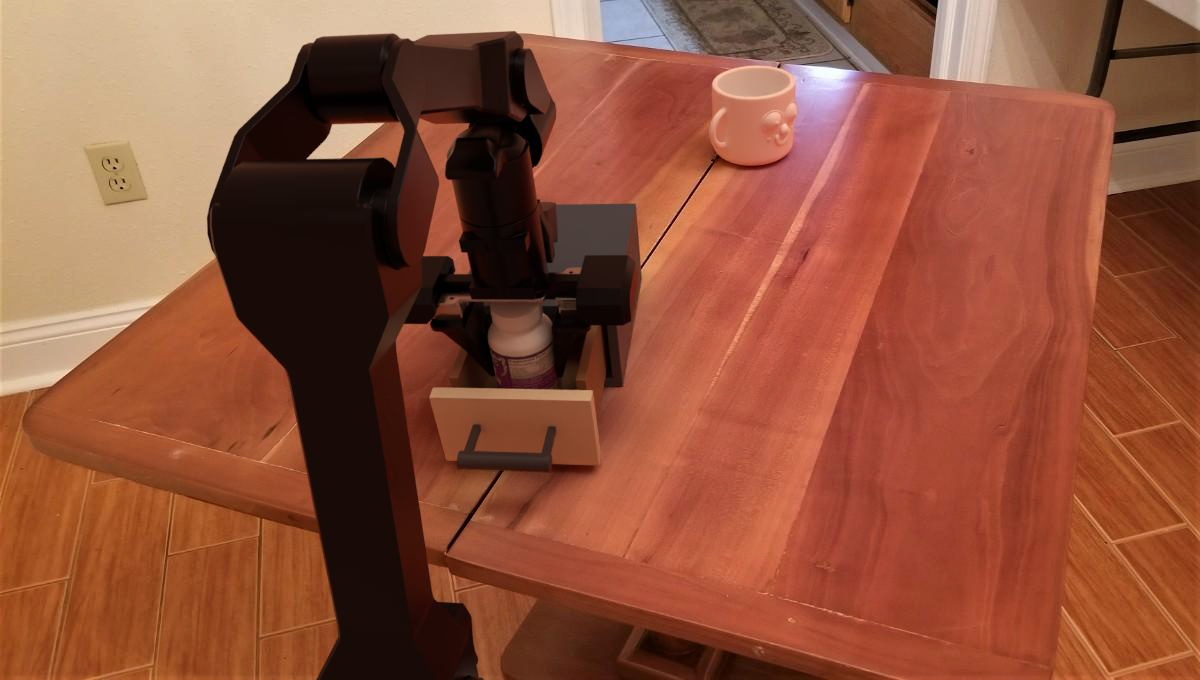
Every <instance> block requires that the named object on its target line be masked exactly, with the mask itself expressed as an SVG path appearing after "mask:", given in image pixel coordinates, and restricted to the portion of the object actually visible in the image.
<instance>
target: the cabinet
mask: <svg viewBox="0 0 1200 680" xmlns="http://www.w3.org/2000/svg"><path fill="white" fill-rule="evenodd" d="M556 213H557V231H558V241H557V242H554V249H555V257H554V260H553V263H547V268H548V272H562V271H563V270H565V269H567V268H572V267H582V265H583V261H584V257H585V255H629V256H630V258H631V259H632V260H633V261H634V262H635V263H636V264H637V272H638V287H637V292H636V298H635V304H634V309H633V315H632V320H631V322H629V323H627V324H625V325H623V326H611V325H606V326H607V335H608V344H609V353H610V357H609V362H608V367H607V372H606V377H605V382H604V387H624V384H625V383H624V382H625V376H626V371H627V365H628V361H629V355H630V349H631V344H632V343H631V342H632V336H633V332H634V326H635V321H636V314H637V309H638V304H639V303H638V302H639V297H640V291H641V285H642V279H643V276H642V265H641V264H642V263H641V251H640V237H639V226H638V225H639V224H638V214H637V203H576V204H575V203H571V204H570V203H567V204H560V203H559V204H556ZM467 274H471V269H470V268H469V271H468V273H467ZM491 303H492V302H484V311H485V314H491V310H490V306H491ZM541 304H542V309H543V313H544V314H555V313H556V310H557V307H558V306H556V301H555V300H552V299H545V301H543V302H541Z"/></svg>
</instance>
